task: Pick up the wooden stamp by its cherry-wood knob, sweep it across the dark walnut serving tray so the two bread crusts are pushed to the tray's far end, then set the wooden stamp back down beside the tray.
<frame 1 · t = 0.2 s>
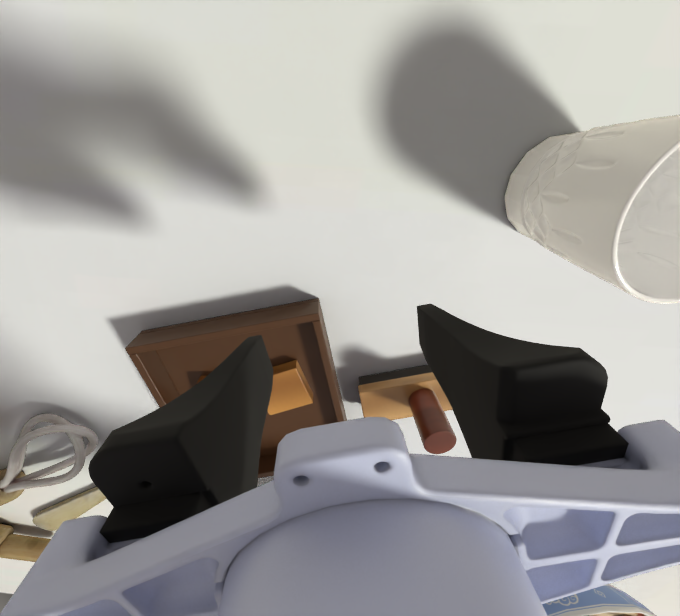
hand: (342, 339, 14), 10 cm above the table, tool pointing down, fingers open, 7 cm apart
ramen bowl: (539, 581, 49), on the table
white cup: (550, 188, 22), on the table
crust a: (283, 383, 27), resting on tray
wooden stamp: (415, 382, 29), on the table
tray: (259, 392, 28), on the table
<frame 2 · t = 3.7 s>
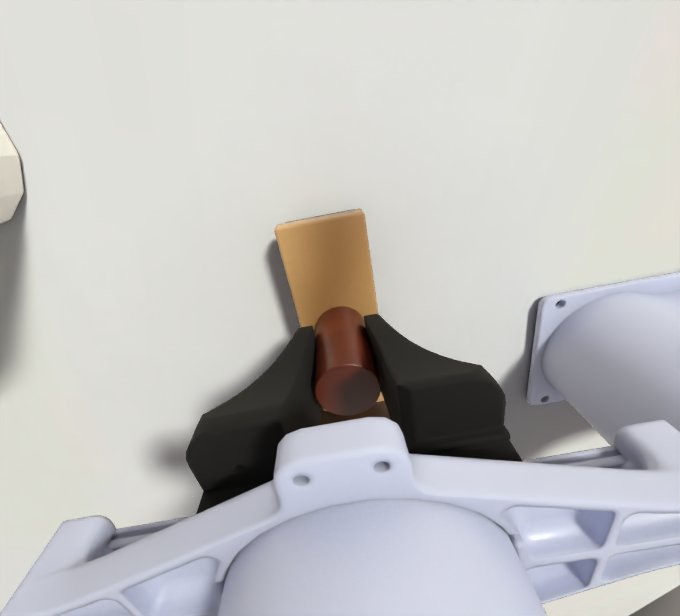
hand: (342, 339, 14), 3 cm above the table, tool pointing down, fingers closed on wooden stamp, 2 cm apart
wooden stamp: (338, 307, 17), on the table, touching gripper
tray: (345, 475, 24), on the table
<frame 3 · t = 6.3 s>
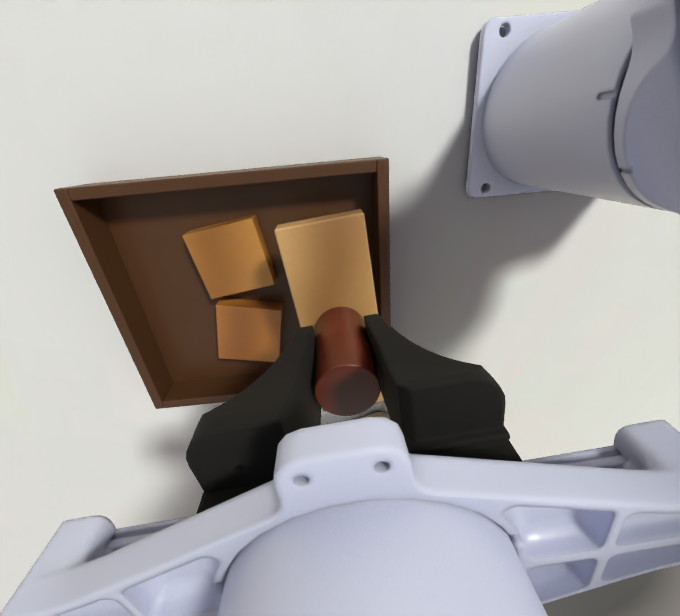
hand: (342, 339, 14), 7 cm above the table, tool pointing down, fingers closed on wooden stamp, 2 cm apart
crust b: (252, 326, 21), resting on tray
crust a: (235, 254, 19), resting on tray
wooden stamp: (338, 307, 17), point 4 cm above the table, touching gripper
tray: (259, 288, 21), on the table
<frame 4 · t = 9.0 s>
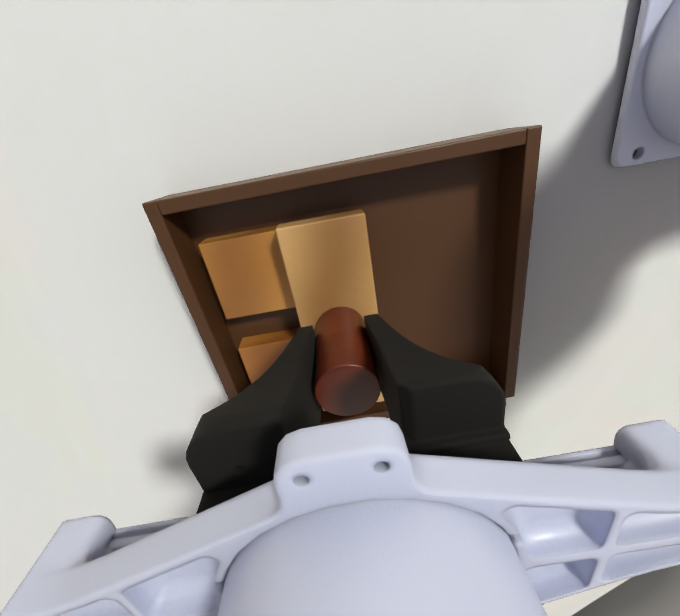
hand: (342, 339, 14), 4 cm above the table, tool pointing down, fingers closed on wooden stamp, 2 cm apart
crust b: (284, 359, 19), resting on tray, touching wooden stamp
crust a: (257, 268, 16), resting on tray, touching wooden stamp
wooden stamp: (338, 307, 17), point 1 cm above the table, touching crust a, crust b, gripper
tray: (358, 297, 18), on the table
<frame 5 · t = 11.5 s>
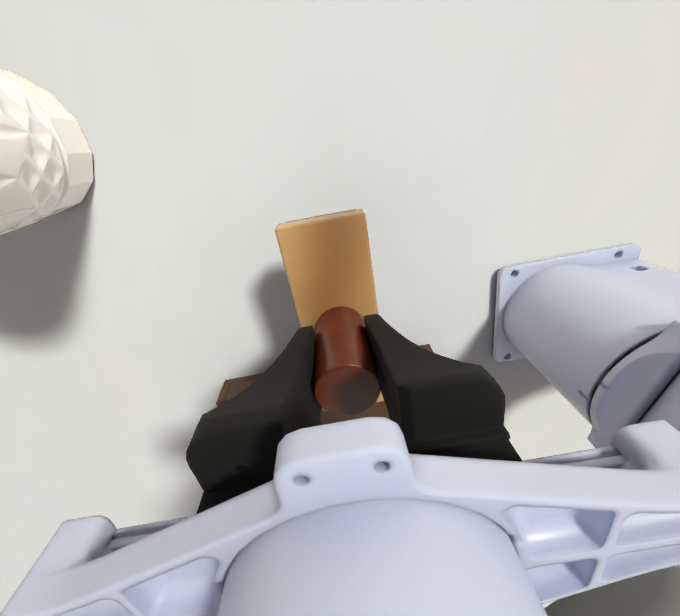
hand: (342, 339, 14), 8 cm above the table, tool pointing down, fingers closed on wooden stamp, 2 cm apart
white cup: (30, 148, 17), on the table
wooden stamp: (338, 307, 17), point 5 cm above the table, touching gripper
tray: (341, 426, 28), on the table
when the fingers open (3 cm above the table, at t = 12.9 s): wooden stamp stays where it is, on the table.
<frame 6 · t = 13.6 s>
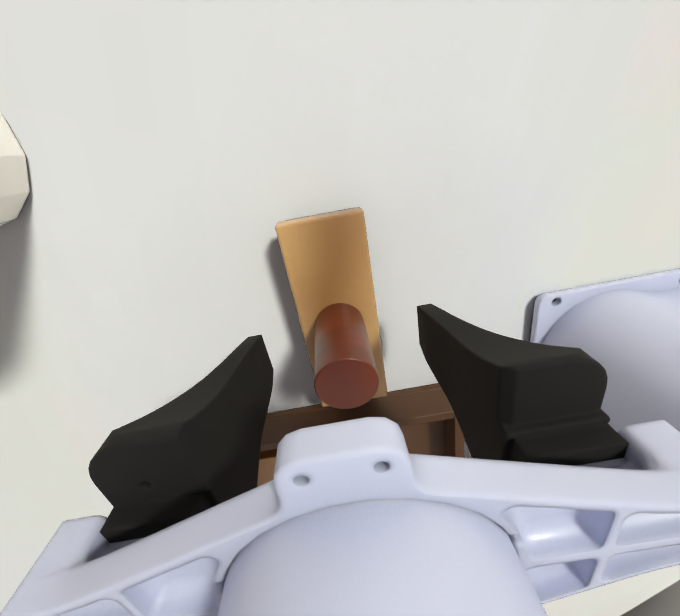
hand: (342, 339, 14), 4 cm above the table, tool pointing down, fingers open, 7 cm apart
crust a: (269, 463, 22), resting on tray
wooden stamp: (337, 304, 18), on the table
tray: (344, 471, 24), on the table
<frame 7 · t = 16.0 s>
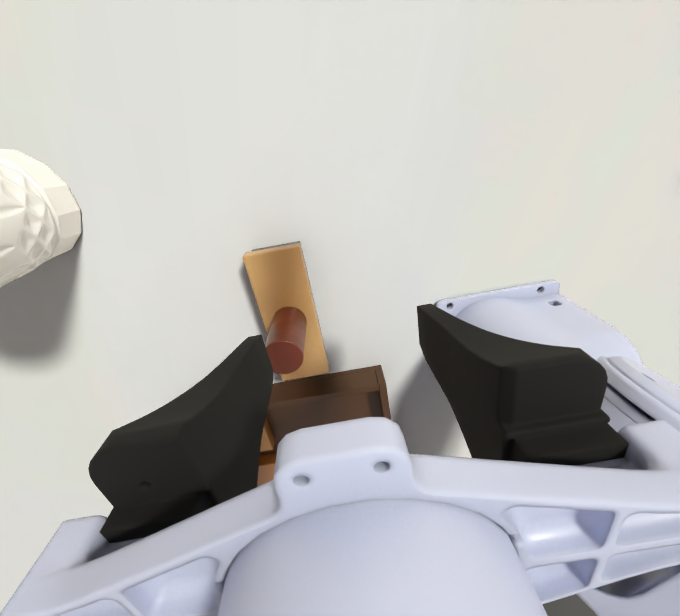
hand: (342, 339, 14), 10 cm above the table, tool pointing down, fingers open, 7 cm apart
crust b: (265, 468, 32), resting on tray
white cup: (29, 205, 21), on the table
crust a: (248, 427, 29), resting on tray
wooden stamp: (292, 307, 25), on the table
tray: (307, 436, 31), on the table
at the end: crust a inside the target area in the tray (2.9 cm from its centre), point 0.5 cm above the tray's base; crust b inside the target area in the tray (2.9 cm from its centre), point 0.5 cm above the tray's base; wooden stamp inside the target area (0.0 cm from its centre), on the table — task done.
